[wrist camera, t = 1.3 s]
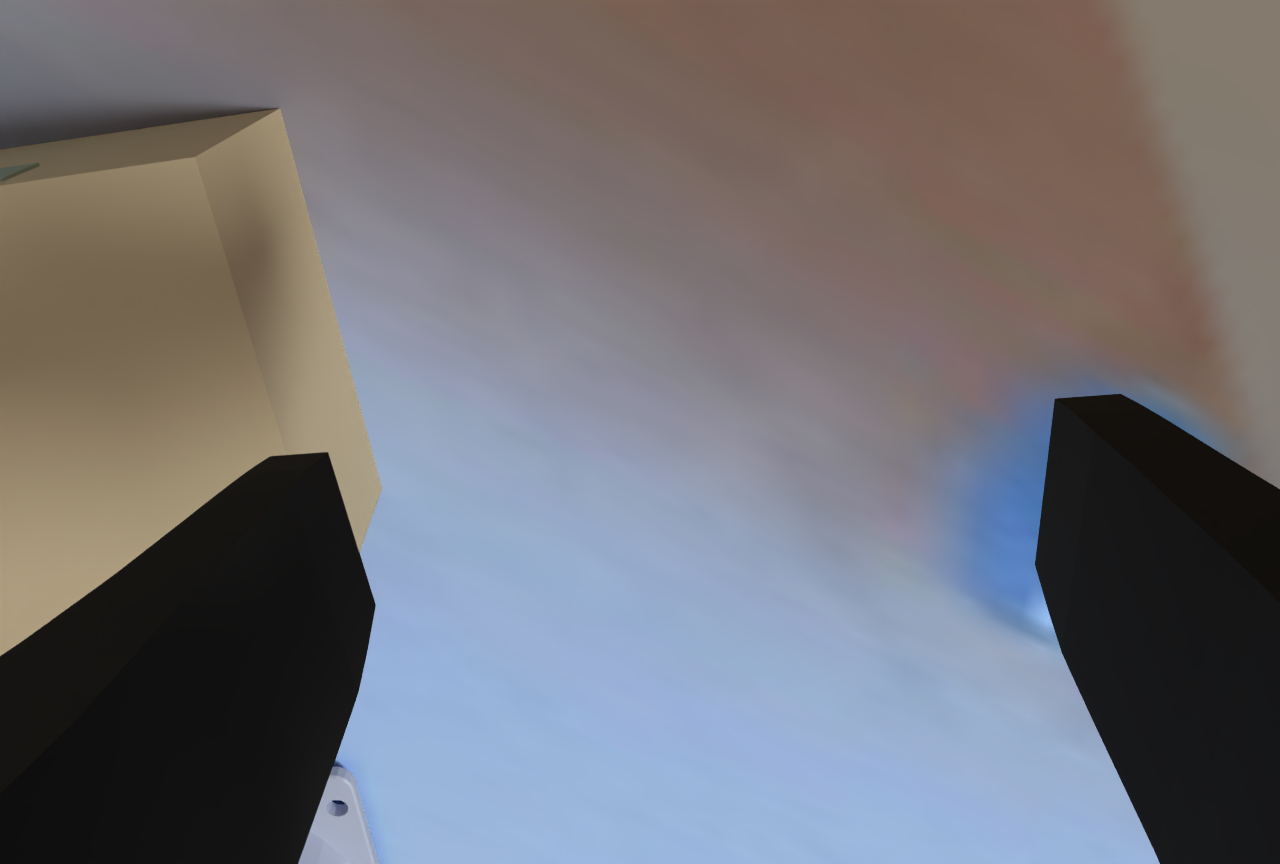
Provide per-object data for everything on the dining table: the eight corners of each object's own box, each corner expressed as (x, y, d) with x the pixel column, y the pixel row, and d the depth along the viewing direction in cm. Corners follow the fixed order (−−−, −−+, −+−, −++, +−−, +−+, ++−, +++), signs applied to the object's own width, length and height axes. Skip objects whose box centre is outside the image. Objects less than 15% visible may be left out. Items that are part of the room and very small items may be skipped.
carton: (384, 485, 23) (337, 618, 19) (22, 538, 23) (-112, 682, 19) (281, 103, 20) (193, 153, 15) (-142, 166, 20) (-356, 233, 15)
